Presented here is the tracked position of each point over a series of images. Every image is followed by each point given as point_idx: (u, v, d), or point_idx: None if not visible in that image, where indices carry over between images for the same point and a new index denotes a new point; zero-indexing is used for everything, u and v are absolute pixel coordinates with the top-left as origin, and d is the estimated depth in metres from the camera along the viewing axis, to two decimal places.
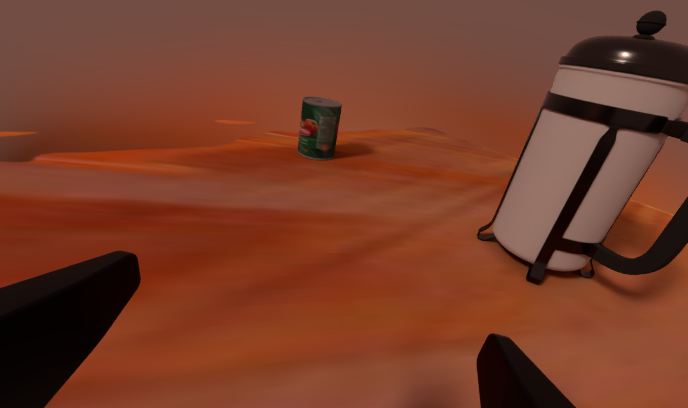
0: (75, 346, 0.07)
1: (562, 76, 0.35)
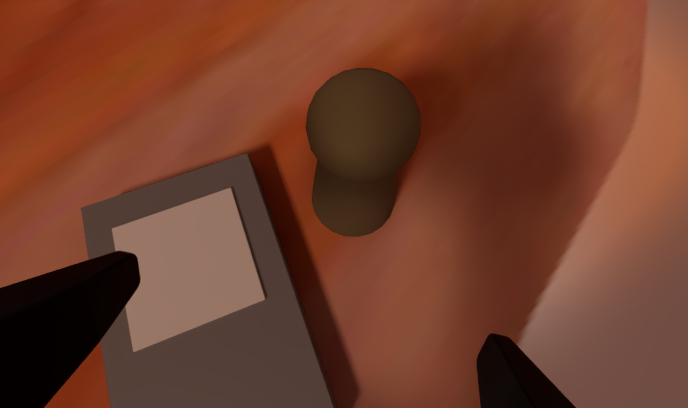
0: (75, 346, 0.07)
1: None
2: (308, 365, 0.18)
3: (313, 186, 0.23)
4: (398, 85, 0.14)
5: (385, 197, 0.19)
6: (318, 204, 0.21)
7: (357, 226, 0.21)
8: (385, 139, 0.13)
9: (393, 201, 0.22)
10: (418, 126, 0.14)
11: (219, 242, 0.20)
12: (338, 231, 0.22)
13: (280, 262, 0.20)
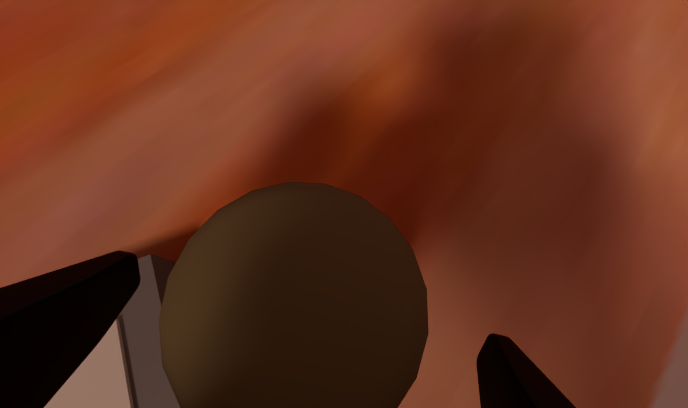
0: (75, 346, 0.07)
1: None
2: None
3: None
4: (373, 239, 0.06)
5: None
6: None
7: None
8: None
9: None
10: (424, 338, 0.06)
11: None
12: None
13: None
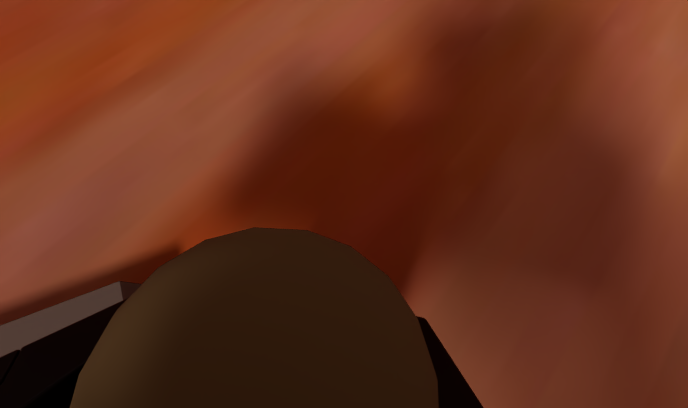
0: None
1: None
2: None
3: None
4: (364, 321, 0.04)
5: None
6: None
7: None
8: None
9: None
10: None
11: None
12: None
13: None
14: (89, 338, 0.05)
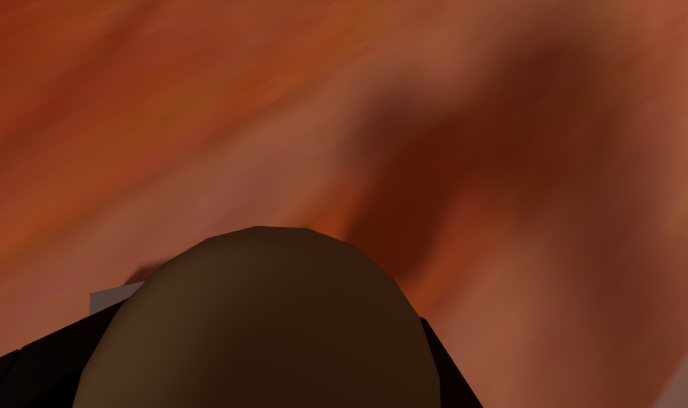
0: None
1: None
2: None
3: None
4: (367, 319, 0.04)
5: None
6: None
7: None
8: None
9: None
10: None
11: None
12: None
13: None
14: (89, 338, 0.05)
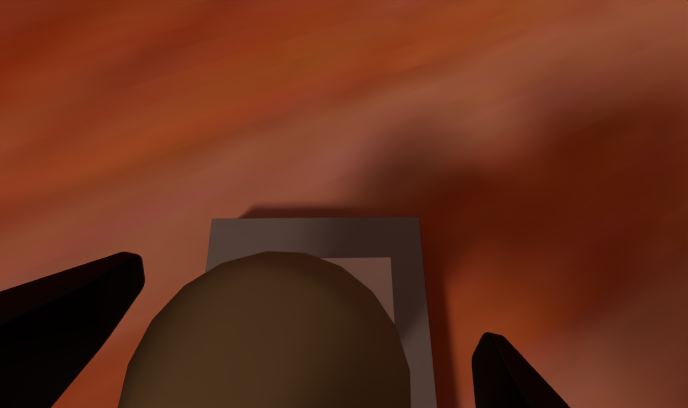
0: (80, 347, 0.07)
1: None
2: None
3: None
4: (349, 330, 0.05)
5: None
6: None
7: None
8: None
9: None
10: None
11: None
12: None
13: (430, 385, 0.15)
14: None
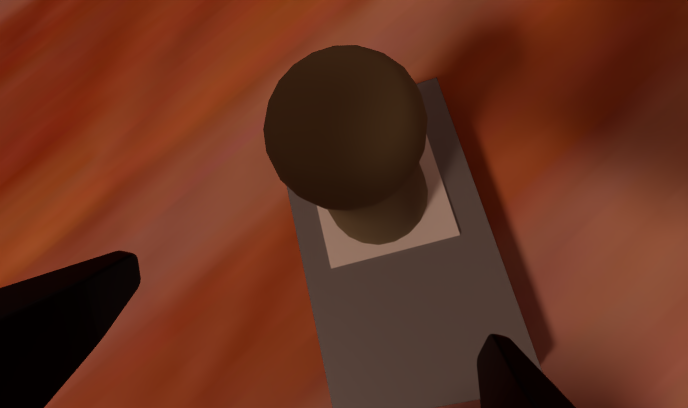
0: (75, 346, 0.07)
1: None
2: (507, 308, 0.17)
3: None
4: (373, 60, 0.09)
5: (410, 198, 0.14)
6: (335, 221, 0.17)
7: (388, 235, 0.17)
8: (373, 152, 0.09)
9: (425, 189, 0.17)
10: (420, 111, 0.09)
11: None
12: (369, 242, 0.18)
13: (476, 198, 0.18)
14: None
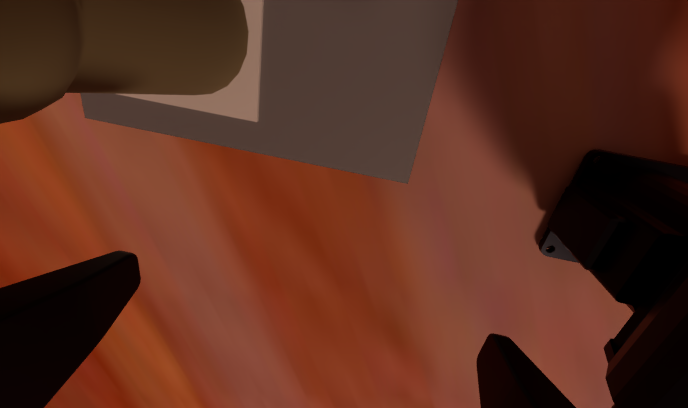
0: (75, 346, 0.07)
1: None
2: None
3: None
4: None
5: None
6: (190, 91, 0.14)
7: (224, 32, 0.13)
8: None
9: None
10: None
11: None
12: (238, 63, 0.15)
13: None
14: None
